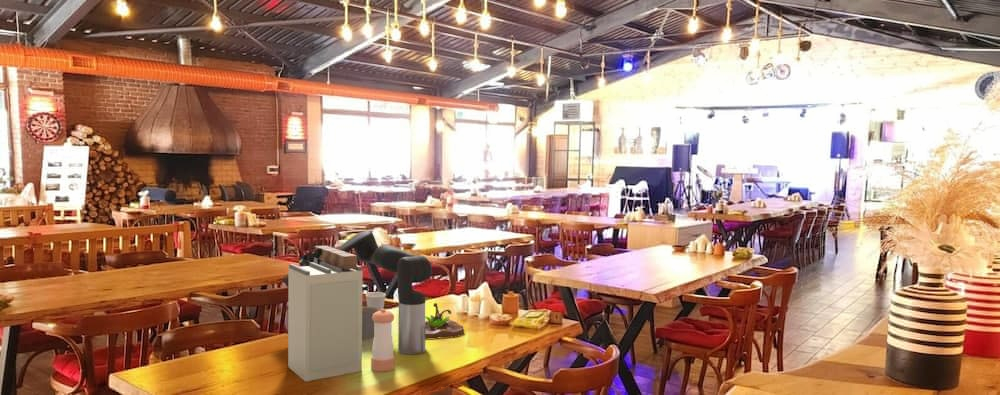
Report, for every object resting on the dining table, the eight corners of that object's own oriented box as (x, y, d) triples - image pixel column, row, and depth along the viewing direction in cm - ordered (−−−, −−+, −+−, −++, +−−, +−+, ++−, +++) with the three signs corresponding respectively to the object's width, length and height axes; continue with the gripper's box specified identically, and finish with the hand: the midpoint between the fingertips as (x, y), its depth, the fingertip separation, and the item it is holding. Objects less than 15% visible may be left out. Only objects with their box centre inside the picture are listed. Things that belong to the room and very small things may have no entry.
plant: (453, 324, 265) (454, 297, 265) (469, 336, 247) (469, 307, 246) (406, 327, 258) (406, 300, 257) (418, 340, 240) (418, 311, 239)
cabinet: (288, 367, 206) (288, 263, 204) (341, 357, 216) (342, 259, 214) (306, 382, 192) (306, 271, 190) (362, 371, 203) (363, 267, 201)
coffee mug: (381, 337, 242) (381, 310, 242) (355, 340, 237) (355, 313, 237) (369, 328, 254) (369, 303, 253) (344, 331, 249) (344, 306, 248)
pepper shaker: (373, 363, 211) (374, 306, 209) (396, 364, 210) (396, 306, 209) (368, 371, 203) (369, 311, 202) (391, 371, 203) (392, 311, 202)
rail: (314, 257, 219) (314, 246, 219) (325, 256, 221) (325, 245, 221) (344, 269, 198) (344, 256, 198) (356, 268, 200) (356, 255, 200)
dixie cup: (375, 321, 266) (375, 297, 265) (361, 318, 270) (361, 294, 270) (389, 317, 273) (389, 293, 272) (375, 314, 277) (375, 291, 277)
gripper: (289, 260, 224) (304, 240, 212) (328, 257, 233) (345, 238, 220) (293, 280, 222) (308, 261, 209) (332, 276, 230) (349, 258, 217)
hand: (327, 249), depth 215 cm, fingers closed on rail, 4 cm apart
